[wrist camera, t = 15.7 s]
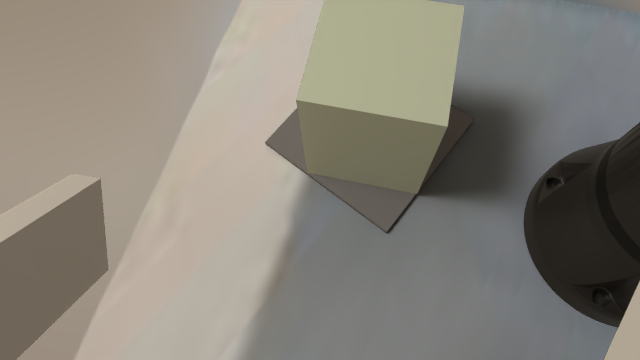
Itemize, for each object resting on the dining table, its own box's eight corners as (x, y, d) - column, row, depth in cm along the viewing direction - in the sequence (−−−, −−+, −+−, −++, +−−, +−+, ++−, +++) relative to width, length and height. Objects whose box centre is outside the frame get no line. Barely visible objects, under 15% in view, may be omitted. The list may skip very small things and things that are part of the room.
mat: (355, 47, 48) (355, 45, 48) (472, 121, 44) (474, 119, 44) (265, 144, 44) (265, 142, 44) (386, 233, 40) (386, 231, 40)
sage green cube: (431, 98, 45) (464, 5, 33) (417, 194, 41) (447, 126, 30) (330, 81, 46) (328, -14, 35) (307, 172, 42) (296, 99, 31)
